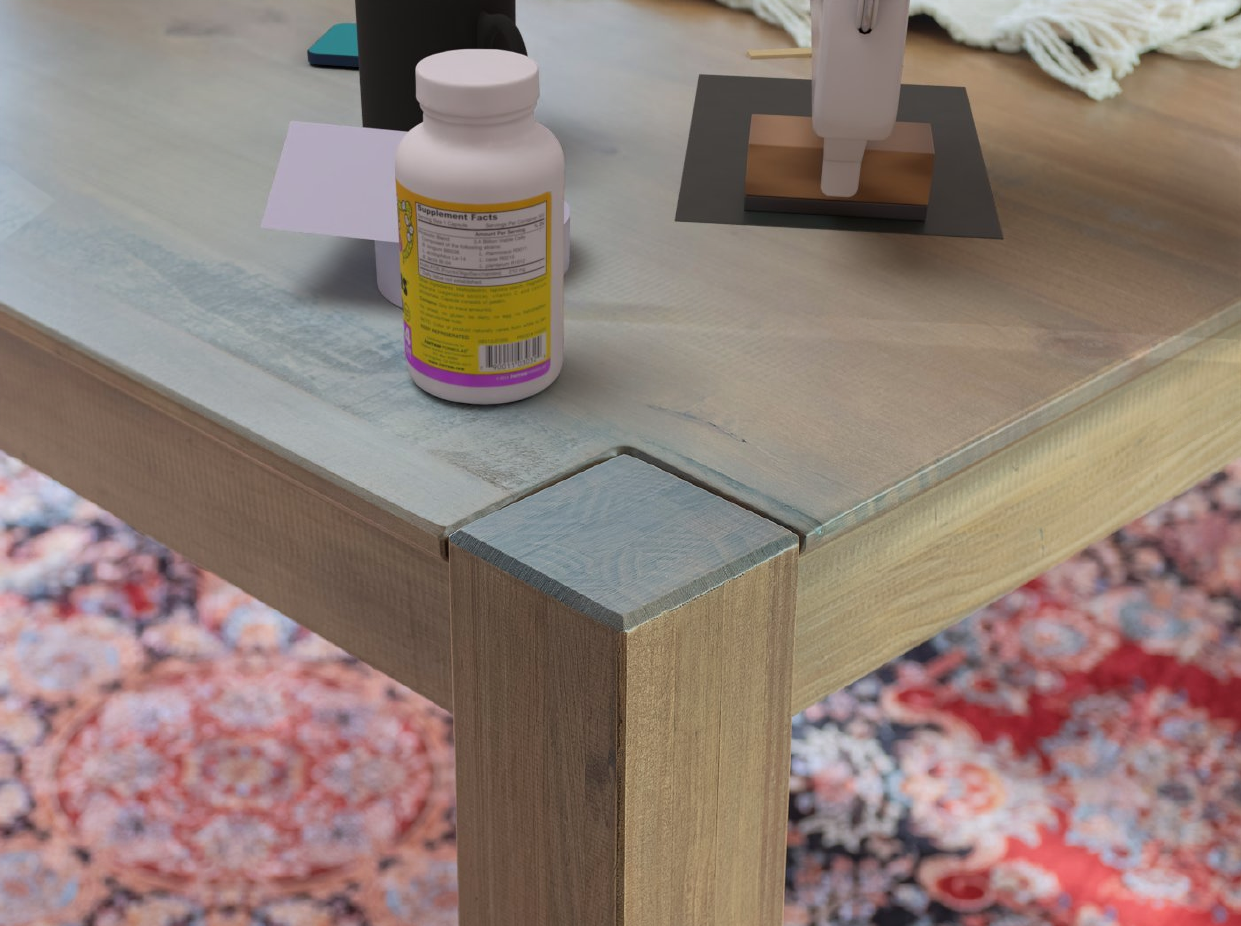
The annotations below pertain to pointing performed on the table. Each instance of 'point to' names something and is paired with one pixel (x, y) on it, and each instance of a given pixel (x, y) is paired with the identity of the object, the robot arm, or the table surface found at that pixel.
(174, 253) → the table surface
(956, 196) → the slate board
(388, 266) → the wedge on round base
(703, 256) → the table surface
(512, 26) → the mug
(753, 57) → the chalk
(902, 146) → the eraser
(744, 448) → the table surface
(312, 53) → the smartphone
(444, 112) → the supplement bottle
